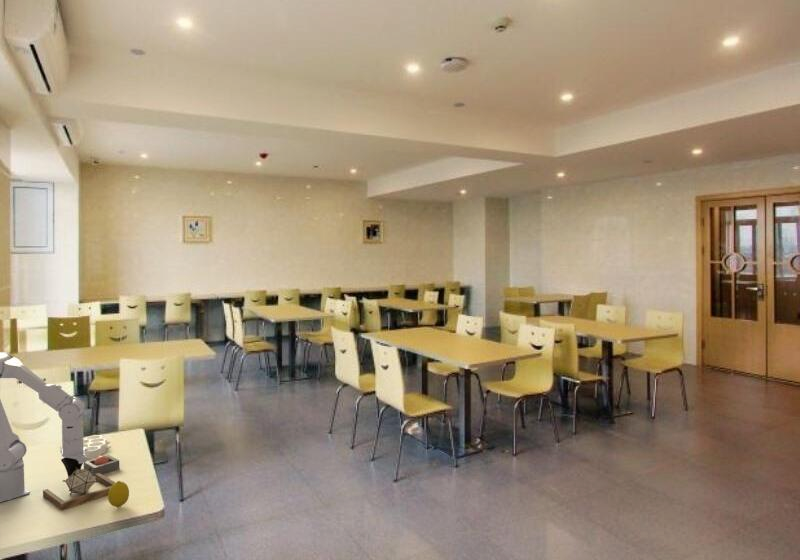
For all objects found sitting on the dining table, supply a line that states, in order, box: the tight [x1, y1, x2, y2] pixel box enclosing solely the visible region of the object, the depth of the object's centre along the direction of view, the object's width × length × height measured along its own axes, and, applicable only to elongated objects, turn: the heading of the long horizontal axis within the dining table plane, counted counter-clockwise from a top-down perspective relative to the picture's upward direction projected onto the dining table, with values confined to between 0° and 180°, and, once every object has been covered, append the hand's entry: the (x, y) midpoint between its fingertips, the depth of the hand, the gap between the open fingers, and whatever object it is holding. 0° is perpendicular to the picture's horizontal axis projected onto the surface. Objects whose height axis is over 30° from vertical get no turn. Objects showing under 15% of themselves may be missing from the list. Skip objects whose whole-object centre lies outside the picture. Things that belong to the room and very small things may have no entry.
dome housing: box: [83, 454, 120, 478], centre depth 184 cm, size 8×8×3 cm
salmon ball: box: [94, 455, 109, 466], centre depth 184 cm, size 4×4×4 cm
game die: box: [62, 467, 99, 496], centre depth 166 cm, size 9×8×10 cm
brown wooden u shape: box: [42, 473, 116, 511], centre depth 166 cm, size 16×14×2 cm
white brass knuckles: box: [63, 434, 112, 460], centre depth 201 cm, size 3×18×15 cm
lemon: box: [107, 480, 130, 509], centre depth 157 cm, size 6×6×8 cm
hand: (73, 479), depth 170 cm, fingers closed
